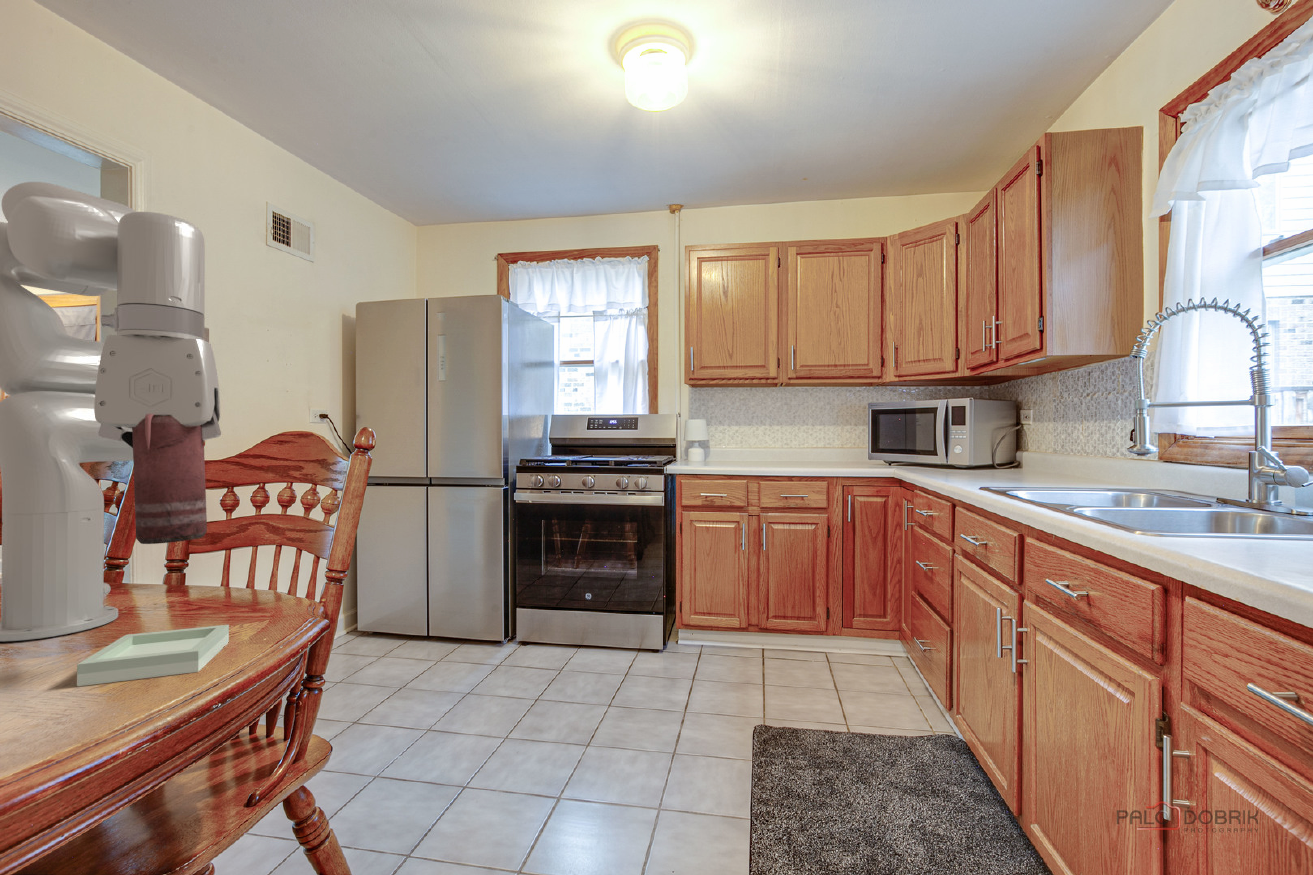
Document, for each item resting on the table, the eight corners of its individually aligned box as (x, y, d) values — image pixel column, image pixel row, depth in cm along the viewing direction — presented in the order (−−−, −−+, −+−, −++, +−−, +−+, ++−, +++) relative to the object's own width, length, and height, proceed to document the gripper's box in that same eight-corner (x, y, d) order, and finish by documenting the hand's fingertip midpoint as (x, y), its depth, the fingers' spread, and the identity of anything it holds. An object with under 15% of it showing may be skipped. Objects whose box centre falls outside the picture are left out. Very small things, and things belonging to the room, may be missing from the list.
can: (121, 546, 61) (117, 414, 61) (155, 537, 67) (151, 417, 67) (189, 541, 63) (185, 412, 63) (216, 533, 69) (212, 415, 69)
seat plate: (125, 653, 68) (125, 634, 68) (228, 642, 71) (228, 624, 71) (77, 686, 58) (77, 664, 58) (198, 671, 62) (198, 650, 62)
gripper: (55, 316, 59) (54, 496, 59) (231, 326, 65) (230, 490, 64) (95, 330, 66) (94, 491, 66) (250, 338, 72) (250, 487, 71)
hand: (161, 490), depth 65 cm, fingers closed
